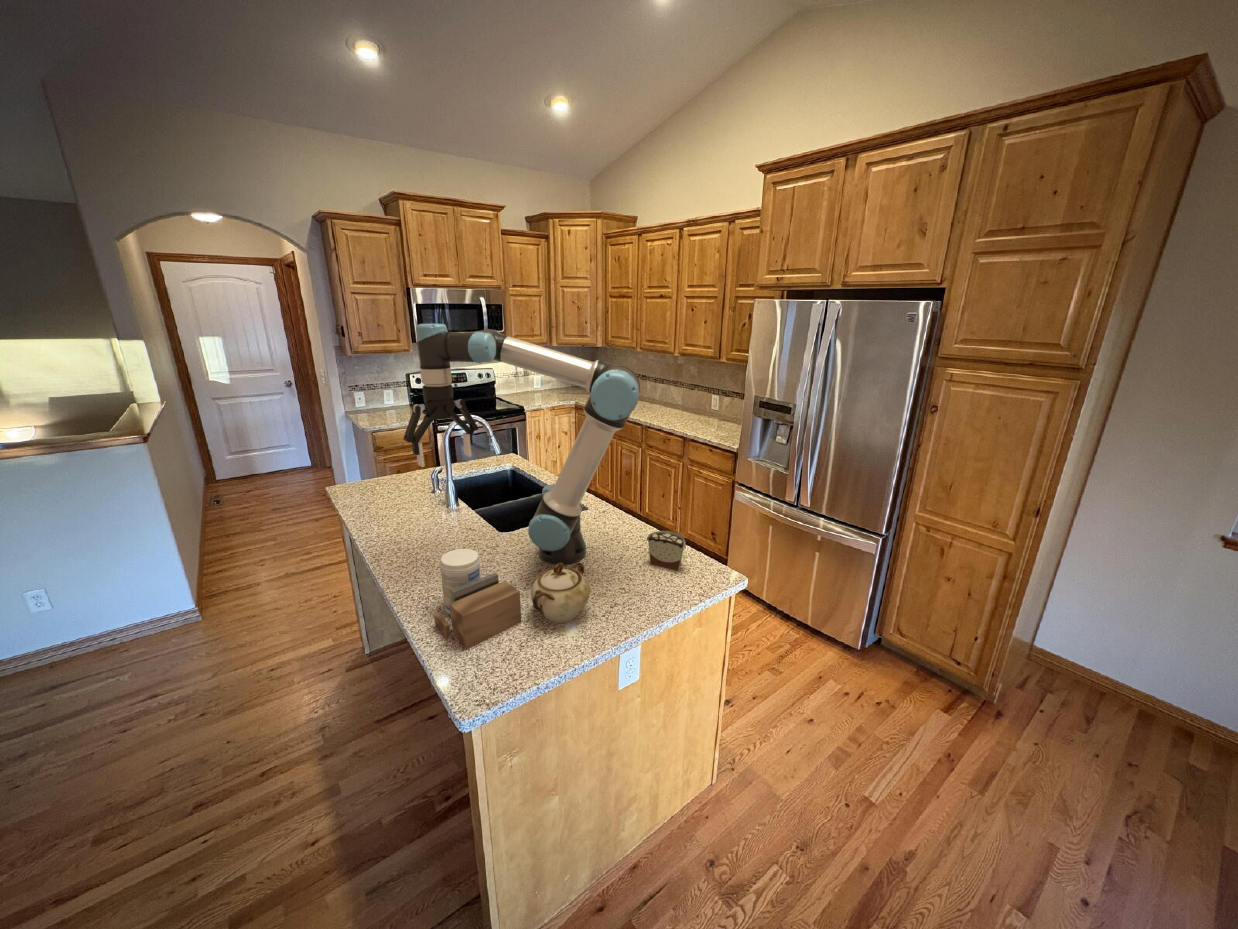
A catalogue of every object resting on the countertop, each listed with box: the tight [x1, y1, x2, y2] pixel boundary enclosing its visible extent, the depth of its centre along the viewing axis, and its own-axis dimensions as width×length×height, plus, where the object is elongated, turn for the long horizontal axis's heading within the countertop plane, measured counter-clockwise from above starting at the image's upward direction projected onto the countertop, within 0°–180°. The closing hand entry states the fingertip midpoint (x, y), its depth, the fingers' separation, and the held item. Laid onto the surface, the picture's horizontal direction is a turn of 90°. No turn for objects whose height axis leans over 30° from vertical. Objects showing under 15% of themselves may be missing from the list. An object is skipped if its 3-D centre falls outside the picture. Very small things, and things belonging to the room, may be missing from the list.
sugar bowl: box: [530, 562, 591, 624], centre depth 123 cm, size 20×15×15 cm
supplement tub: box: [440, 548, 481, 615], centre depth 125 cm, size 10×10×15 cm
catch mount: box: [433, 580, 522, 650], centre depth 120 cm, size 13×18×9 cm
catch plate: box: [450, 572, 500, 603], centre depth 120 cm, size 2×12×10 cm, turn 134°
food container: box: [646, 530, 687, 573], centre depth 149 cm, size 12×6×10 cm, turn 65°
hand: (445, 460), depth 134 cm, fingers open, 13 cm apart
